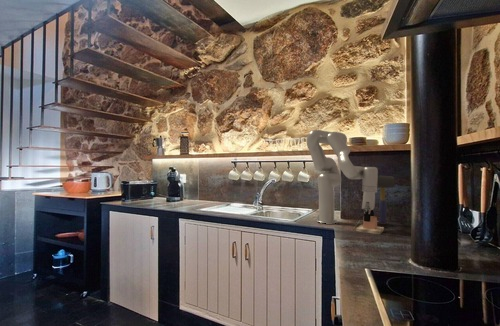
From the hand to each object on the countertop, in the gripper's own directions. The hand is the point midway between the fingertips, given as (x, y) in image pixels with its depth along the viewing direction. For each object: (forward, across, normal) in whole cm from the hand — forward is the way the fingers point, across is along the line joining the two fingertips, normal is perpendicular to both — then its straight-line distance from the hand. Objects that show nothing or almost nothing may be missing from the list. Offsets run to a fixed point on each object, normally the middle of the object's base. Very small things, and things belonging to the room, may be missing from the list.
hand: (368, 219), depth 145 cm
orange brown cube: (+4, 0, +1) cm, 4 cm away
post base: (+6, 0, +1) cm, 6 cm away
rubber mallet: (+6, -23, +4) cm, 24 cm away
